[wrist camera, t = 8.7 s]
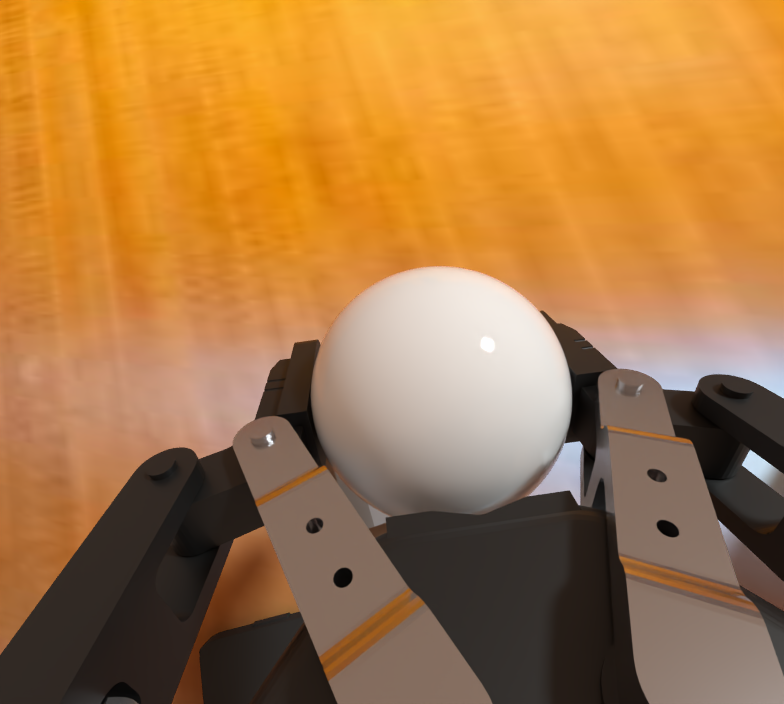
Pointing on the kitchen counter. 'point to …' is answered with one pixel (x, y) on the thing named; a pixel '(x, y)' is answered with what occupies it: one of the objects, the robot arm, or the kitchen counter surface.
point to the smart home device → (244, 658)
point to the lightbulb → (441, 393)
